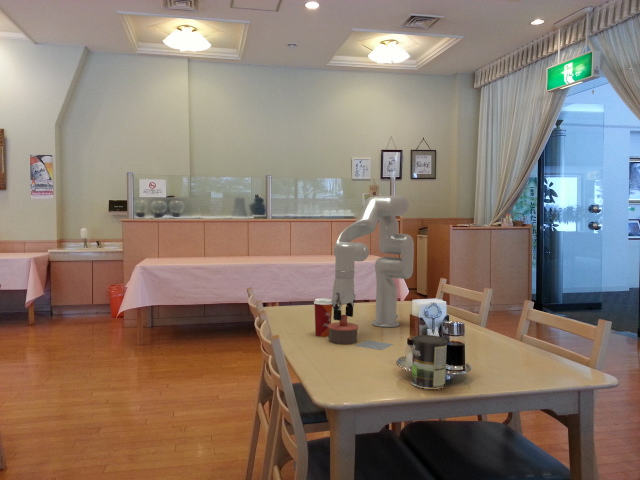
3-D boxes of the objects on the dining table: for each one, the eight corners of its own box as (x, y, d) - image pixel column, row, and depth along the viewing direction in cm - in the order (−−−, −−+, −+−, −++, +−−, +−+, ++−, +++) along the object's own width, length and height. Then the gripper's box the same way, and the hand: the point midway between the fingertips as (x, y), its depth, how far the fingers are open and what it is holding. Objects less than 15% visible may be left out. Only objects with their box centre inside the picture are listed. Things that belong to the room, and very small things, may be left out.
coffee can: (416, 390, 159) (417, 342, 158) (407, 379, 169) (409, 334, 169) (450, 390, 160) (452, 343, 159) (439, 379, 170) (441, 335, 170)
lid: (337, 323, 223) (338, 311, 223) (363, 326, 217) (364, 315, 216) (322, 327, 213) (322, 315, 213) (349, 332, 207) (349, 319, 206)
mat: (368, 341, 217) (368, 340, 217) (393, 345, 212) (393, 344, 212) (355, 347, 208) (355, 345, 208) (381, 351, 202) (381, 350, 202)
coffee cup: (330, 338, 222) (331, 301, 221) (310, 336, 224) (311, 300, 223) (334, 333, 230) (335, 298, 229) (315, 332, 232) (316, 297, 231)
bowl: (337, 338, 222) (338, 323, 222) (360, 341, 217) (360, 327, 216) (324, 342, 213) (325, 327, 213) (347, 347, 208) (348, 331, 208)
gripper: (347, 272, 223) (345, 313, 224) (325, 276, 208) (323, 320, 209) (363, 274, 219) (361, 316, 220) (342, 277, 204) (340, 322, 205)
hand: (343, 318), depth 215 cm, fingers open, 9 cm apart
